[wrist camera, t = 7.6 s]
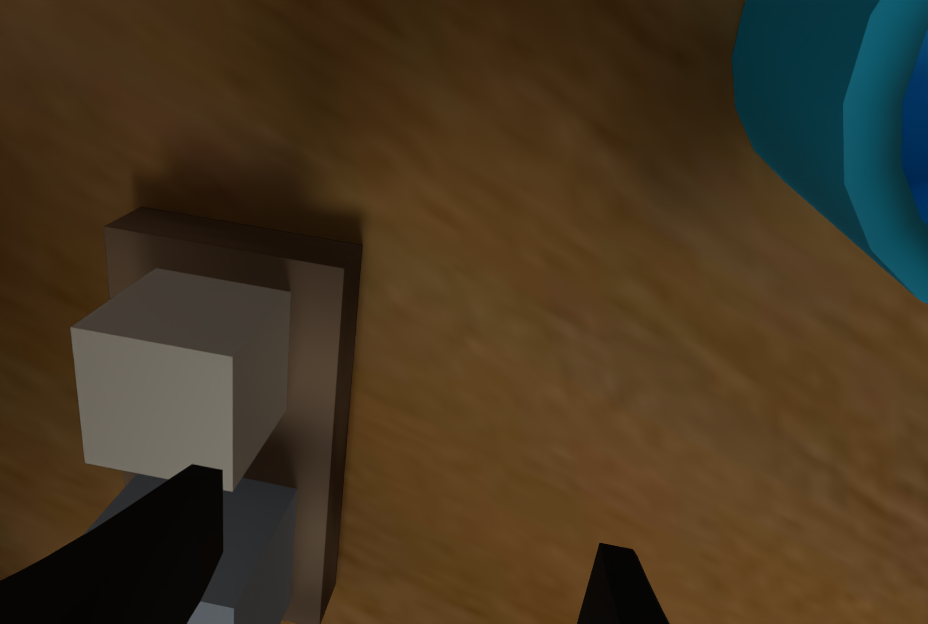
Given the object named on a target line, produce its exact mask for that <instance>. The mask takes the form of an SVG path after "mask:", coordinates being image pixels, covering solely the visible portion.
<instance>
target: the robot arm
mask: <svg viewBox="0 0 928 624" xmlns="http://www.w3.org/2000/svg"><path fill="white" fill-rule="evenodd" d="M222 554H223V470H221V469H216V468H211V467H205V466H200V465H195V464H191V465H190V466H188V467H187V468H185V469H184V470H182V471H181V472H179V473H177V474H176V475H174V476H173V477H171V478H170V479H168V480H167V481H165V482H164V483H162V484H161V485H159V486H158V487H157V488H155V489H154V490H152V491H151V492H149V493H148V494H146V495H145V496H143V497H142V498H140V499H139V500H137V501H136V502H134V503H133V504H131V505H130V506H128V507H127V508H125V509H124V510H122V511H121V512H119V513H117V514H116V515H114V516H113V517H111V518H110V519H108V520H107V521H105V522H103V523H102V524H100V525H99V526H97V527H96V528H94V529H93V530H91V531H89V532H88V533H86V534H84V535H83V536H81V537H79V538H77V539H76V540H74V541H72V542H71V543H69V544H67V545H66V546H64V547H62V548H61V549H59V550H57V551H55V552H54V553H52V554H50V555H49V556H47V557H45V558H43V559H42V560H40V561H38V562H36V563H34V564H32V565H30V566H29V567H27V568H25V569H23V570H21V571H19V572H17V573H15V574H13V575H11V576H9V577H7V578H5V579H3V580H1V581H0V624H187V623H188V621H189V619H190V618H191V616H192V614H193V613H194V611H195V609H196V608H197V606H198V605H199V603H200V601H201V599H202V597H203V595H204V593H205V591H206V589H207V587H208V585H209V583H210V580H211V578H212V576H213V574H214V572H215V569H216V567H217V565H218V563H219V561H220V558H221V556H222ZM577 624H669V622H668V620H667V618H666V616H665V614H664V612H663V610H662V608H661V606H660V604H659V602H658V600H657V598H656V596H655V594H654V592H653V590H652V587H651V585H650V583H649V581H648V579H647V577H646V575H645V572H644V570H643V568H642V566H641V563H640V561H639V559H638V556H637V555H636V553H635V552H634V550H633V549H629V548H624V547H619V546H614V545H608V544H603V543H599V547H598V550H597V554H596V558H595V561H594V565H593V568H592V572H591V575H590V579H589V583H588V586H587V590H586V593H585V597H584V600H583V604H582V608H581V611H580V615H579V618H578V622H577Z"/></svg>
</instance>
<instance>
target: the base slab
mask: <svg viewBox="0 0 928 624" xmlns="http://www.w3.org/2000/svg"><path fill="white" fill-rule="evenodd" d="M104 234H105V247H106V259H107V272H108V284H109V297H110V300H111V299H112V298H113V297H115V296H116V295H118V294H119V293H121V292H122V291H124V290H125V289H127V288H128V287H129V286H131V285H132V284H134V283H135V282H137V281H138V280H140V279H141V278H142V277H144V276H145V275H147V274H148V273H150V272H151V271H153V270H154V269H156V268H159V269H164V270H170V271H176V272H181V273H187V274H192V275H198V276H204V277H209V278H215V279H221V280H226V281H232V282H237V283H243V284H249V285H254V286H260V287H265V288H271V289H277V290H282V291H288V292H291V298H290V326H289V353H288V381H287V408H286V411H285V413H284V414H283V416H282V417H281V419H280V420H279V422H278V423H277V425H276V426H275V428H274V430H273V431H272V433H271V434H270V436H269V437H268V439H267V440H266V442H265V443H264V445H263V446H262V448H261V449H260V451H259V452H258V454H257V455H256V457H255V459H254V460H253V462H252V463H251V465H250V466H249V468H248V469H247V471H246V472H245V474H244V475H243V477H242V478H246V479H251V480H256V481H261V482H266V483H271V484H276V485H281V486H285V487H290V488H295V489H297V504H296V520H295V536H294V552H293V568H292V585H291V601H290V603H289V605H288V607H287V609H286V612H285V614H284V616H283V618H282V620H285V621H290V622H295V623H300V624H321V621H322V619H323V616H324V613H325V611H326V608H327V606H328V603H329V600H330V598H331V595H332V593H333V590H334V587H335V580H336V568H337V556H338V543H339V531H340V518H341V506H342V493H343V481H344V468H345V456H346V443H347V431H348V418H349V406H350V393H351V381H352V368H353V356H354V343H355V331H356V318H357V306H358V293H359V281H360V269H361V256H362V245H357V244H352V243H346V242H340V241H334V240H328V239H323V238H317V237H311V236H305V235H300V234H294V233H288V232H282V231H276V230H271V229H265V228H259V227H253V226H248V225H242V224H236V223H230V222H224V221H219V220H213V219H207V218H201V217H196V216H190V215H184V214H178V213H173V212H167V211H161V210H155V209H149V208H144V207H140V208H138V209H137V210H135V211H133V212H131V213H129V214H127V215H125V216H123V217H121V218H119V219H117V220H115V221H113V222H112V223H110V224H108V225H106V226H104ZM136 474H137V473H134V472H129V471H124V484H125V487H126V486H127V485H128V483H129V482H130V481H131V480H132V479H133V478H134V477H135V475H136Z"/></svg>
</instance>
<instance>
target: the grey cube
mask: <svg viewBox="0 0 928 624" xmlns="http://www.w3.org/2000/svg"><path fill="white" fill-rule="evenodd" d="M167 480H168V479H164V478H159V477H154V476H149V475H144V474H139V473H137V474H136V475H135V477H134V478H133V479H132V480H131V481H130V482H129V483H128V485H127V486H126V487H125V488H124V489H123V490H122V491H121V493H120V494H119V495H118V496H117V497H116V498H115V499H114V501H113V502H112V503H111V504H110V505H109V506H108V507H107V509H106V510H105V511H104V512H103V513H102V514H101V515H100V517H99V518H98V519H97V520H96V521H95V522H94V523H93V525H92V526H91V527H90V528H89V529H88V530H87V531H86V533H88V532H89V531H91V530H93V529H94V528H96V527H97V526H99V525H100V524H102V523H103V522H105V521H107V520H108V519H110V518H111V517H113V516H114V515H116V514H117V513H119V512H121V511H122V510H124V509H125V508H127V507H128V506H130V505H131V504H133V503H134V502H136V501H137V500H139V499H140V498H142V497H143V496H145V495H146V494H148V493H149V492H151V491H152V490H154V489H155V488H157V487H158V486H159V485H161V484H162V483H164V482H165V481H167ZM296 504H297V489H295V488H290V487H285V486H281V485H276V484H271V483H266V482H261V481H256V480H251V479H246V478H241V480H240V481H239V483H238V484H237V486H236V488H235V489H234V491H233V492H231V491H226V490H223V554H222V556H221V558H220V561H219V563H218V565H217V567H216V569H215V572H214V574H213V576H212V578H211V580H210V583H209V585H208V587H207V589H206V591H205V593H204V595H203V597H202V599H201V601H200V603H199V605H198V606H197V608H196V609H195V611H194V613H193V614H192V616H191V618H190V619H189V621H188V623H187V624H280V623H281V621H282V618H283V616H284V614H285V612H286V609H287V607H288V605H289V603H290V601H291V585H292V568H293V552H294V536H295V520H296ZM86 533H85V534H86Z"/></svg>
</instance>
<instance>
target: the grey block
mask: <svg viewBox="0 0 928 624" xmlns="http://www.w3.org/2000/svg"><path fill="white" fill-rule="evenodd" d="M290 298H291V292H288V291H282V290H277V289H271V288H265V287H260V286H254V285H249V284H243V283H237V282H232V281H226V280H221V279H215V278H209V277H204V276H198V275H192V274H187V273H181V272H176V271H170V270H164V269H159V268H156V269H154V270H153V271H151V272H150V273H148V274H147V275H145V276H144V277H142V278H141V279H140V280H138V281H137V282H135V283H134V284H132V285H131V286H129V287H128V288H127V289H125V290H124V291H122V292H121V293H119V294H118V295H116V296H115V297H113V298H112V299H111V300H109V301H108V302H106V303H105V304H103V305H102V306H100V307H99V308H97V309H96V310H95V311H93V312H92V313H90V314H89V315H87V316H86V317H84V318H83V319H82V320H80V321H79V322H77V323H76V324H74V325H73V326H71V327H70V328H71V337H72V346H73V356H74V365H75V374H76V384H77V393H78V402H79V412H80V421H81V430H82V439H83V449H84V458H85V463H88V464H93V465H98V466H103V467H108V468H113V469H118V470H123V471H129V472H134V473H139V474H144V475H149V476H154V477H159V478H164V479H170V478H171V477H173V476H174V475H176V474H177V473H179V472H181V471H182V470H184V469H185V468H187V467H188V466H190V465H191V464H195V465H200V466H205V467H211V468H216V469H221V470H223V490H226V491H231V492H233V491H234V489H235V488H236V486H237V484H238V483H239V481H240V480H241V478H242V477H243V475H244V474H245V472H246V471H247V469H248V468H249V466H250V465H251V463H252V462H253V460H254V459H255V457H256V455H257V454H258V452H259V451H260V449H261V448H262V446H263V445H264V443H265V442H266V440H267V439H268V437H269V436H270V434H271V433H272V431H273V430H274V428H275V426H276V425H277V423H278V422H279V420H280V419H281V417H282V416H283V414H284V413H285V411H286V408H287V381H288V353H289V326H290Z"/></svg>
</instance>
